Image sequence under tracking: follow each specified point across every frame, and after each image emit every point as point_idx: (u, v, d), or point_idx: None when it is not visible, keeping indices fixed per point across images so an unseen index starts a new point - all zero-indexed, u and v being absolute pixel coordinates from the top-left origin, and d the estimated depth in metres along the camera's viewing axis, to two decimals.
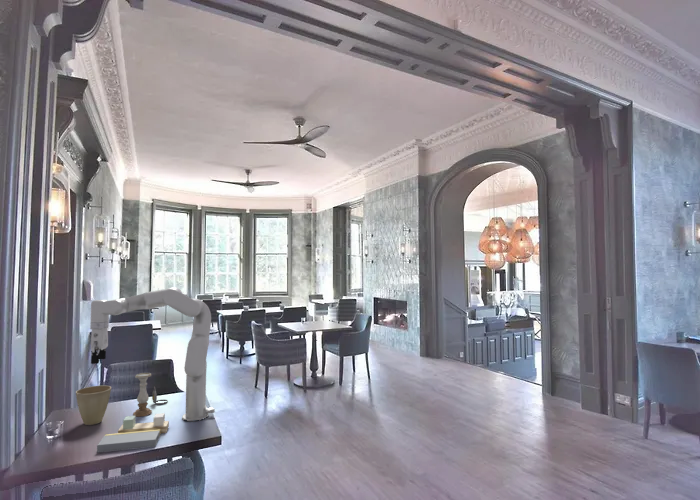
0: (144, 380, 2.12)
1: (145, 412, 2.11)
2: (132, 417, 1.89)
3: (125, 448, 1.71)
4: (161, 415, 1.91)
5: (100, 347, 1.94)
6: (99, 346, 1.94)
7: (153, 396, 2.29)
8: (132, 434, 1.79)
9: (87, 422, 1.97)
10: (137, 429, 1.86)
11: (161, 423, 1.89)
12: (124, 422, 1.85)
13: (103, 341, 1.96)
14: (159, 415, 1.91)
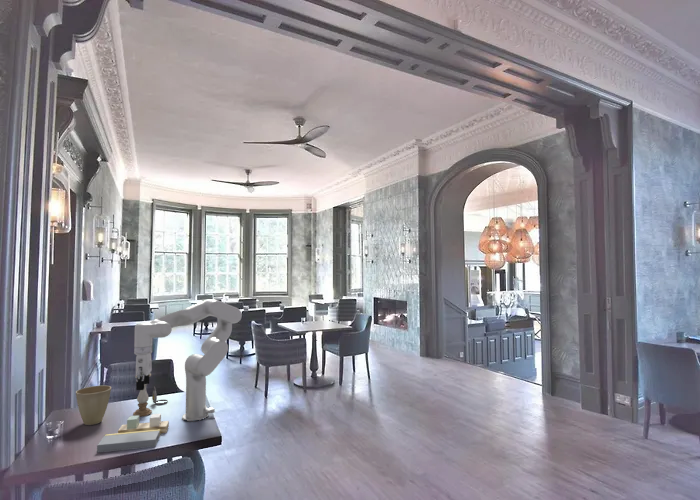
0: None
1: (145, 412, 2.11)
2: (136, 417, 1.89)
3: (125, 448, 1.71)
4: (157, 415, 1.91)
5: (145, 373, 1.87)
6: (144, 372, 1.87)
7: (153, 396, 2.29)
8: (132, 434, 1.79)
9: (87, 422, 1.97)
10: (137, 429, 1.86)
11: (157, 423, 1.89)
12: (127, 421, 1.86)
13: (148, 366, 1.89)
14: (155, 415, 1.91)
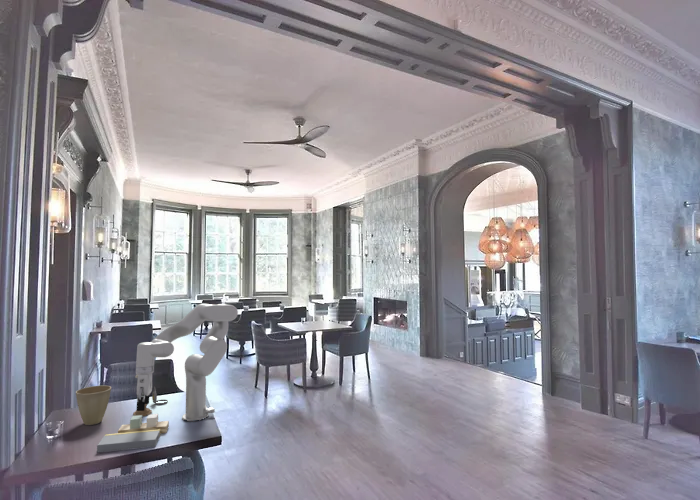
0: None
1: (145, 412, 2.11)
2: (139, 416, 1.89)
3: (125, 448, 1.71)
4: (154, 416, 1.90)
5: (146, 393, 1.86)
6: (145, 392, 1.85)
7: (153, 396, 2.29)
8: (132, 434, 1.79)
9: (87, 422, 1.97)
10: (137, 429, 1.86)
11: (154, 424, 1.88)
12: (130, 421, 1.86)
13: (149, 386, 1.88)
14: (152, 416, 1.90)
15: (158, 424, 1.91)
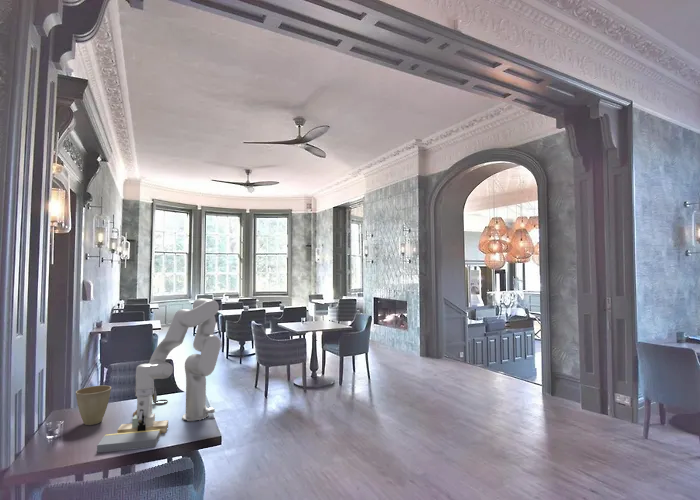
0: None
1: None
2: None
3: (125, 448, 1.71)
4: (151, 415, 1.90)
5: (146, 416, 1.85)
6: (145, 415, 1.85)
7: (153, 396, 2.29)
8: (132, 434, 1.79)
9: (87, 422, 1.97)
10: (136, 428, 1.85)
11: (151, 423, 1.88)
12: (133, 420, 1.86)
13: (149, 408, 1.88)
14: None
15: (157, 423, 1.91)
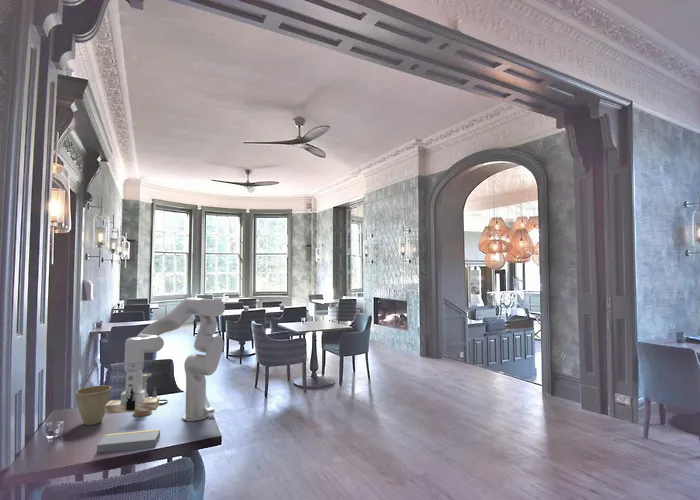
0: (144, 380, 2.12)
1: (145, 412, 2.11)
2: None
3: (125, 448, 1.71)
4: (141, 391, 1.80)
5: (135, 391, 1.75)
6: (134, 390, 1.75)
7: (153, 396, 2.29)
8: (132, 434, 1.79)
9: (87, 422, 1.97)
10: (125, 404, 1.75)
11: (140, 400, 1.78)
12: (121, 396, 1.76)
13: (138, 384, 1.78)
14: None
15: (148, 400, 1.81)
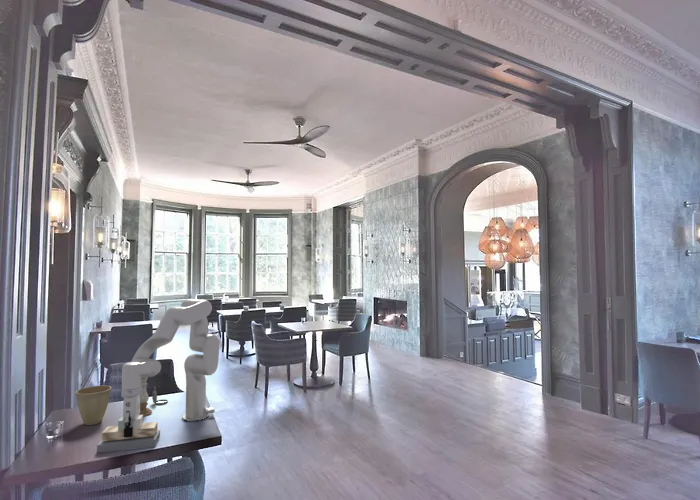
0: (144, 380, 2.12)
1: (145, 412, 2.11)
2: None
3: (125, 448, 1.71)
4: (139, 417, 1.77)
5: (133, 417, 1.73)
6: (132, 416, 1.73)
7: (153, 396, 2.29)
8: None
9: (87, 422, 1.97)
10: (123, 431, 1.73)
11: (138, 426, 1.76)
12: (119, 422, 1.74)
13: (136, 410, 1.75)
14: None
15: (146, 425, 1.78)
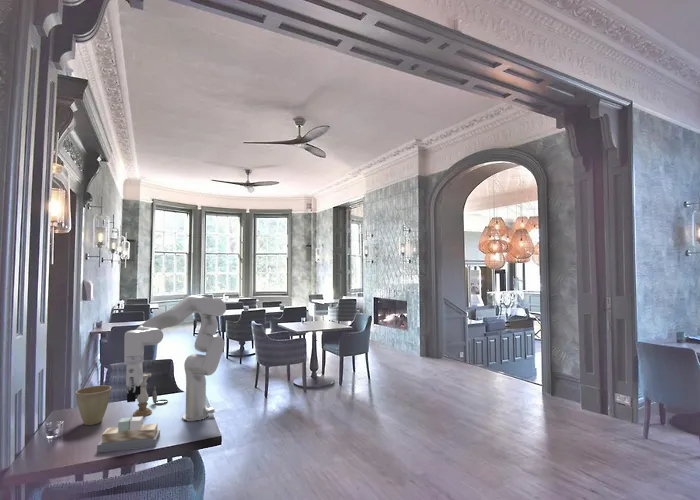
0: (144, 380, 2.12)
1: (145, 412, 2.11)
2: (128, 419, 1.77)
3: (125, 448, 1.71)
4: (139, 418, 1.77)
5: (136, 383, 1.76)
6: (135, 382, 1.75)
7: (153, 396, 2.29)
8: None
9: (87, 422, 1.97)
10: (123, 433, 1.73)
11: (138, 427, 1.76)
12: (119, 424, 1.74)
13: (139, 376, 1.78)
14: (136, 418, 1.78)
15: (146, 427, 1.78)
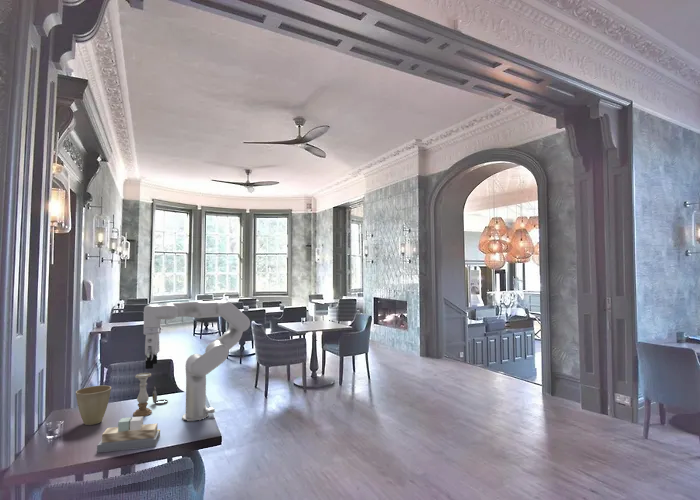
0: (144, 380, 2.12)
1: (145, 412, 2.11)
2: (128, 419, 1.77)
3: (125, 448, 1.71)
4: (139, 418, 1.77)
5: (154, 352, 1.95)
6: (153, 351, 1.95)
7: (153, 396, 2.29)
8: None
9: (87, 422, 1.97)
10: (123, 433, 1.73)
11: (138, 427, 1.76)
12: (119, 424, 1.74)
13: (156, 346, 1.97)
14: (136, 418, 1.78)
15: (146, 427, 1.78)
